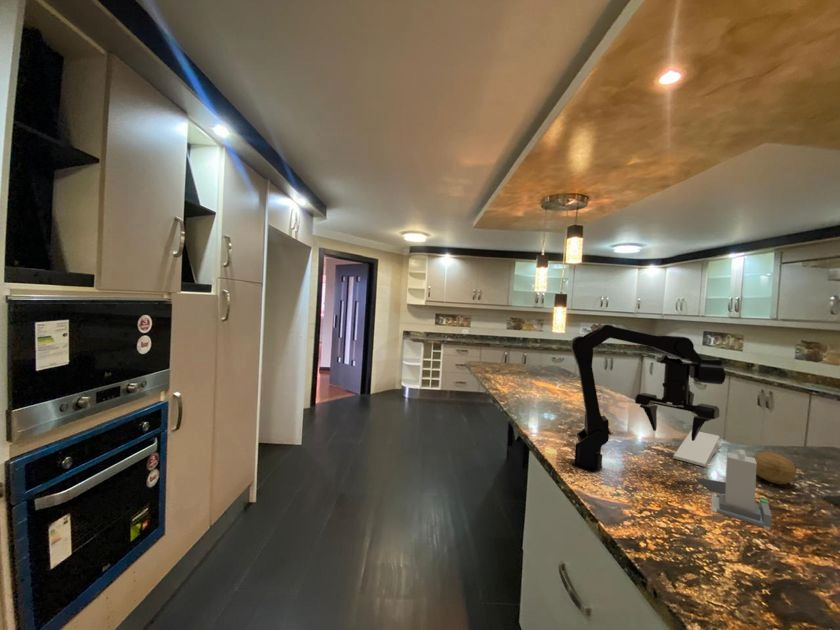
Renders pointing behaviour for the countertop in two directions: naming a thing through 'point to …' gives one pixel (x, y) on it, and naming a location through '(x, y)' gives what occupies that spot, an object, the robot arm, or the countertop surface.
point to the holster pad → (713, 485)
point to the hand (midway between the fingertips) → (673, 435)
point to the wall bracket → (698, 448)
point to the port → (764, 516)
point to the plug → (740, 486)
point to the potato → (774, 468)
